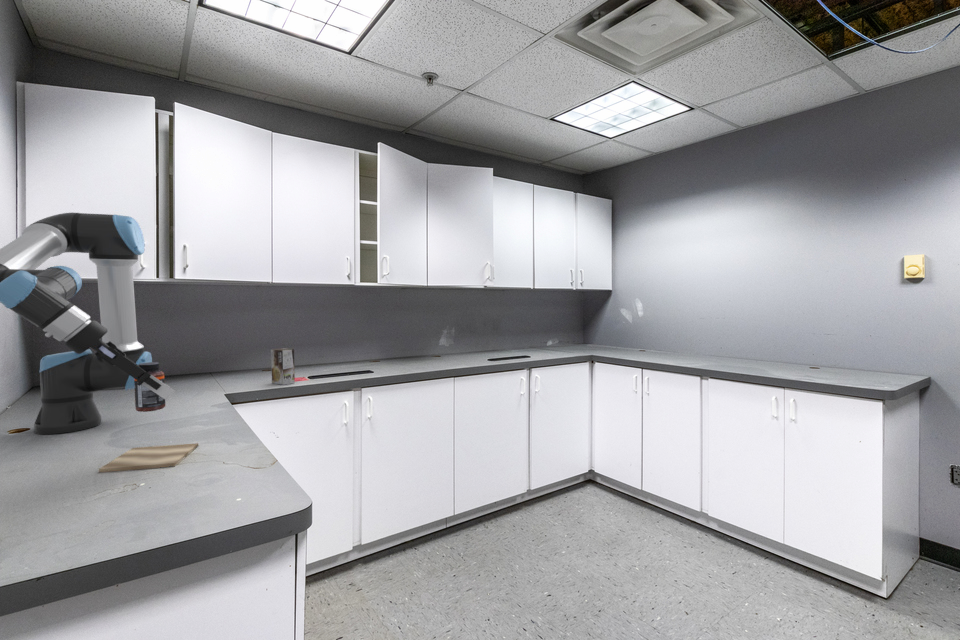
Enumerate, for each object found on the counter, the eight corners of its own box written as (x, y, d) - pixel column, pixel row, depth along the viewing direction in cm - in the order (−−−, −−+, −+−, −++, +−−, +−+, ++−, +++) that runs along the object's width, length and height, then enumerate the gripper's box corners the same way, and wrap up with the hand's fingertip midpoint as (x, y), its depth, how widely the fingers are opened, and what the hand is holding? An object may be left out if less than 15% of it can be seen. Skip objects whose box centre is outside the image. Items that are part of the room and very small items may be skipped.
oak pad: (132, 450, 116) (132, 447, 116) (198, 446, 119) (198, 443, 119) (99, 472, 101) (98, 468, 101) (174, 466, 105) (174, 462, 105)
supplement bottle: (140, 407, 111) (138, 362, 111) (168, 405, 113) (167, 361, 113) (131, 413, 106) (129, 365, 105) (161, 411, 108) (159, 364, 107)
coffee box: (295, 383, 212) (294, 348, 211) (283, 385, 206) (282, 350, 206) (283, 381, 217) (282, 347, 216) (271, 383, 211) (270, 349, 211)
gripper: (62, 340, 106) (150, 399, 117) (60, 346, 92) (161, 412, 103) (91, 317, 109) (174, 377, 121) (94, 319, 95) (187, 386, 106)
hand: (168, 393), depth 112 cm, fingers closed on supplement bottle, 6 cm apart
